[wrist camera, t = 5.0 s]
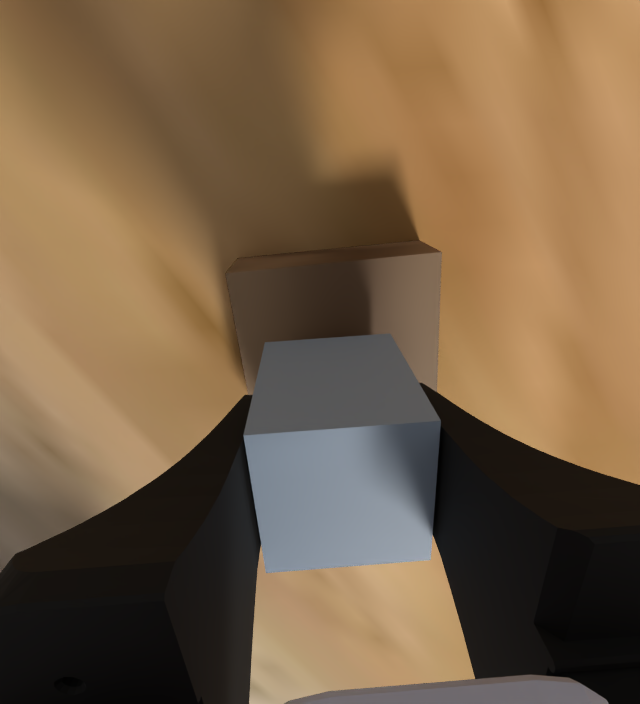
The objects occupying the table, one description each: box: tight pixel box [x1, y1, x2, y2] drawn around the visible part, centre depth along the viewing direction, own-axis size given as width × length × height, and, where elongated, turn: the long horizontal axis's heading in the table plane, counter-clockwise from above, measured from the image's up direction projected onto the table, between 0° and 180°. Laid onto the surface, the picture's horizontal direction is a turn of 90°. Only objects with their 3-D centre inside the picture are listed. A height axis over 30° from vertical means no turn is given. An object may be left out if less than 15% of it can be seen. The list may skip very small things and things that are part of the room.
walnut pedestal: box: [225, 240, 442, 395], centre depth 15 cm, size 7×7×3 cm
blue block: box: [243, 334, 441, 573], centre depth 11 cm, size 4×4×5 cm
